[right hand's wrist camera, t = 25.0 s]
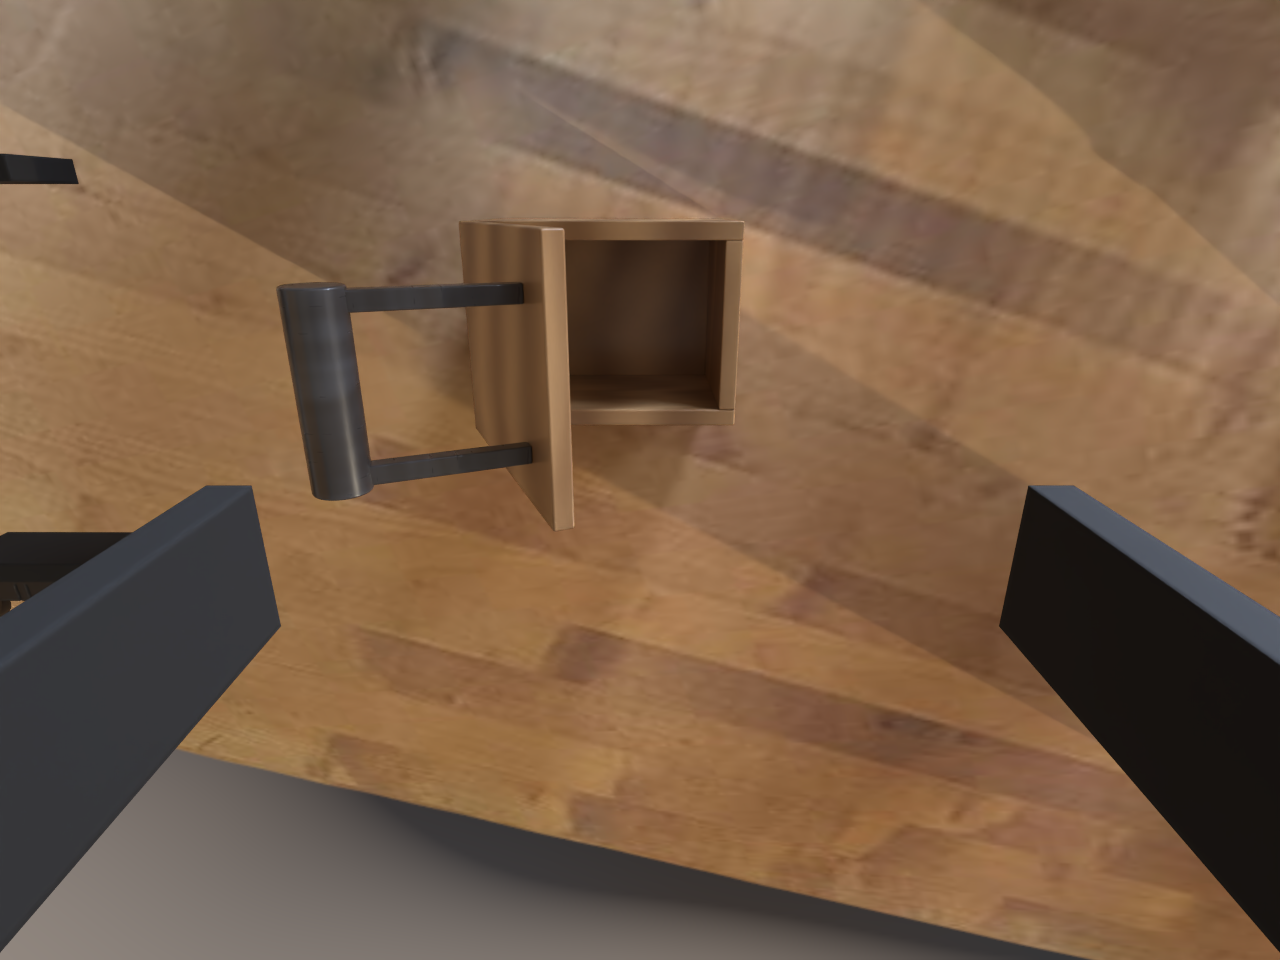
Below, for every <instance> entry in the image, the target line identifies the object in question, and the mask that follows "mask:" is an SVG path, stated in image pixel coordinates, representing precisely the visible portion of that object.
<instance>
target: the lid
mask: <svg viewBox="0 0 1280 960" xmlns="http://www.w3.org/2000/svg"><path fill="white" fill-rule="evenodd" d="M459 233H460V245H461V257H462V268H463V280H464V284H438V285H411V286H384V287H358V288H346V285H345V284H342V283H334V282H310V283H294V284H285V285H280V286H278V287H277V289H276V291H277V296H278V302H279V308H280V313H281V319H282V325H283V331H284V336H285V342H286V348H287V353H288V359H289V365H290V371H291V376H292V382H293V388H294V393H295V399H296V405H297V410H298V416H299V422H300V428H301V433H302V439H303V445H304V450H305V456H306V462H307V468H308V473H309V479H310V485H311V490H312V494H313V496H314V497H316V498H318V499H321V500H329V501H336V500H346V499H352V498H356V497H359V496H362V495H364V494H367V493H368V492H370V491H371V490H372V489H373V487H374V485H378V484H385V483H393V482H400V481H407V480H415V479H422V478H430V477H437V476H444V475H452V474H459V473H467V472H474V471H481V470H489V469H496V468H504V467H506V469H507V470H508V471H509V473H510V474H511V475H512V477H513V478H514V479H515V481H516V482H517V483H518V485H519V486H520V487H521V489H522V490H523V491H524V492H525V494H526V495H527V496H528V498H529V499H530V500H531V502H532V503H533V504H534V506H535V507H536V508H537V510H538V511H539V512H540V514H541V515H542V516H543V518H544V519H545V520H546V522H547V523H548V524H549V526H550V527H551V528H552V530H553V531H561V530H567V529H573V528H574V526H575V525H574V496H573V467H572V437H571V408H570V379H569V350H568V320H567V291H566V262H565V233H564V229H563V228H557V227H544V226H532V225H519V224H506V223H493V222H480V221H460V222H459ZM456 307H466V316H467V328H468V340H469V352H470V364H471V376H472V388H473V400H474V412H475V423H476V429H477V430H478V431H479V433H480V434H481V435H482V437H483V438H484V439H485V441H486V442H487V443H488V445H489V446H487V447H479V448H471V449H462V450H454V451H446V452H438V453H430V454H422V455H414V456H405V457H397V458H389V459H381V460H373V461H371V458H370V451H369V444H368V437H367V430H366V423H365V416H364V409H363V402H362V395H361V387H360V380H359V373H358V366H357V359H356V352H355V345H354V338H353V331H352V324H351V317H350V313H354V312H374V311H395V310H415V309H435V308H456Z"/></svg>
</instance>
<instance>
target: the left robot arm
mask: <svg viewBox="0 0 1280 960" xmlns="http://www.w3.org/2000/svg"><path fill="white" fill-rule="evenodd" d="M0 184H79V183H78V179H77V176H76V172H75V168H74V164H73V160H72V159H61V158H49V157H37V156H25V155H13V154H0ZM131 533H133V532H7V533H5V534H3V535H1V536H0V617H1V616H3V615H4V614H6V613H7V612H9V611H10V609H11V602H10V601H20V600H22V601H26V600H28V599H29V598H31V597H33V596H34V595H36V594H37V593H39V592H40V591H42V590H43V589H45V588H47V587H48V586H50V585H51V584H53V583H54V582H56V581H58V580H59V579H61V578H62V577H64V576H65V575H67V574H69V573H70V572H72V571H73V570H75V569H76V568H78V567H80V566H81V565H83V564H84V563H86V562H87V561H89V560H90V559H92V558H94V557H95V556H97V555H98V554H100V553H101V552H103V551H105V550H106V549H108V548H109V547H111V546H112V545H114V544H116V543H117V542H119V541H120V540H122V539H123V538H125V537H127V536H128V535H130V534H131Z"/></svg>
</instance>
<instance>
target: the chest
mask: <svg viewBox="0 0 1280 960" xmlns="http://www.w3.org/2000/svg"><path fill="white" fill-rule="evenodd" d="M475 221H480V222H493V223H506V224H519V225H532V226H544V227H557V228H563V229H564V233H565V262H566V291H567V320H568V350H569V379H570V408H571V425H734V418H735V410H734V409H735V399H736V380H737V360H738V340H739V320H740V301H741V281H742V261H743V241H742V240H743V239H744V221H737V220H728V219H541V218H504V219H489V220H475Z"/></svg>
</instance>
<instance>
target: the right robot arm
mask: <svg viewBox="0 0 1280 960" xmlns="http://www.w3.org/2000/svg"><path fill="white" fill-rule="evenodd" d="M280 627H281V624H280V620H279V615H278V610H277V605H276V600H275V596H274V591H273V586H272V581H271V577H270V572H269V567H268V562H267V557H266V553H265V548H264V543H263V538H262V533H261V529H260V524H259V519H258V514H257V509H256V505H255V500H254V495H253V490H252V486H205V487H203V488H202V489H200V490H199V491H197V492H195V493H194V494H192V495H191V496H189V497H188V498H186V499H184V500H183V501H181V502H180V503H178V504H177V505H175V506H174V507H172V508H170V509H169V510H167V511H166V512H164V513H163V514H161V515H159V516H158V517H156V518H155V519H153V520H152V521H150V522H148V523H147V524H145V525H144V526H142V527H141V528H139V529H137V530H136V531H134V532H133V533H131V534H130V535H128V536H127V537H125V538H123V539H122V540H120V541H119V542H117V543H116V544H114V545H112V546H111V547H109V548H108V549H106V550H105V551H103V552H101V553H100V554H98V555H97V556H95V557H94V558H92V559H90V560H89V561H87V562H86V563H84V564H83V565H81V566H80V567H78V568H76V569H75V570H73V571H72V572H70V573H69V574H67V575H65V576H64V577H62V578H61V579H59V580H58V581H56V582H54V583H53V584H51V585H50V586H48V587H47V588H45V589H43V590H42V591H40V592H39V593H37V594H36V595H34V596H33V597H31V598H29V599H28V600H26V601H25V602H23V603H22V604H20V605H18V606H17V607H15V608H14V609H12V610H11V611H9V612H7V613H6V614H4V615H3V616H1V617H0V952H1V951H2V950H3V949H4V947H5V946H6V945H7V944H8V943H9V942H10V940H11V939H12V938H13V937H14V936H15V935H16V933H17V932H18V931H19V930H20V929H21V928H22V927H23V925H24V924H25V923H26V922H27V921H28V920H29V918H30V917H31V916H32V915H33V914H34V913H35V911H36V910H37V909H38V908H39V907H40V906H41V904H42V903H43V902H44V901H45V900H46V899H47V897H48V896H49V895H50V894H51V893H52V892H53V890H54V889H55V888H56V887H57V886H58V885H59V884H60V882H61V881H62V880H63V879H64V878H65V876H66V875H67V874H68V873H69V872H70V871H71V870H72V868H73V867H74V866H75V865H76V864H77V862H78V861H79V860H80V859H81V858H82V857H83V856H84V854H85V853H86V852H87V851H88V850H89V849H90V847H91V846H92V845H93V844H94V843H95V842H96V840H97V839H98V838H99V837H100V836H101V835H102V834H103V832H104V831H105V830H106V829H107V828H108V827H109V825H110V824H111V823H112V822H113V821H114V820H115V818H116V817H117V816H118V815H119V814H120V813H121V811H122V810H123V809H124V808H125V807H126V806H127V804H128V803H129V802H130V801H131V800H132V799H133V797H134V796H135V795H136V794H137V793H138V792H139V791H140V789H141V788H142V787H143V786H144V785H145V784H146V782H147V781H148V780H149V779H150V778H151V777H152V775H153V774H154V773H155V772H156V771H157V770H158V768H159V767H160V766H161V765H162V764H163V763H164V761H165V760H166V759H167V758H168V757H169V756H170V754H171V753H172V752H173V751H174V750H175V749H176V748H177V746H178V745H179V744H180V743H181V742H182V741H183V739H184V738H185V737H186V736H187V735H188V734H189V732H190V731H191V730H192V729H193V728H194V727H195V725H196V724H197V723H198V722H199V721H200V720H201V718H202V717H203V716H204V715H205V714H206V713H207V711H208V710H209V709H210V708H211V707H212V706H213V705H214V703H215V702H216V701H217V700H218V699H219V698H220V696H221V695H222V694H223V693H224V692H225V691H226V689H227V688H228V687H229V686H230V685H231V684H232V682H233V681H234V680H235V679H236V678H237V677H238V675H239V674H240V673H241V672H242V671H243V670H244V668H245V667H246V666H247V665H248V664H249V663H250V661H251V660H252V659H253V658H254V657H255V656H256V655H257V653H258V652H259V651H260V650H261V649H262V648H263V646H264V645H265V644H266V643H267V642H268V641H269V639H270V638H271V637H272V636H273V635H274V634H275V632H276V631H277V630H278V629H279V628H280ZM999 627H1000V628H1001V629H1002V630H1003V631H1004V632H1005V634H1006V635H1007V636H1008V637H1009V638H1010V639H1011V641H1012V642H1013V643H1014V644H1015V645H1016V646H1017V648H1018V649H1019V650H1020V651H1021V652H1022V653H1023V655H1024V656H1025V657H1026V658H1027V659H1028V660H1029V661H1030V663H1031V664H1032V665H1033V666H1034V667H1035V668H1036V670H1037V671H1038V672H1039V673H1040V674H1041V675H1042V677H1043V678H1044V679H1045V680H1046V681H1047V682H1048V684H1049V685H1050V686H1051V687H1052V688H1053V689H1054V691H1055V692H1056V693H1057V694H1058V695H1059V696H1060V698H1061V699H1062V700H1063V701H1064V702H1065V703H1066V705H1067V706H1068V707H1069V708H1070V709H1071V710H1072V711H1073V713H1074V714H1075V715H1076V716H1077V717H1078V718H1079V720H1080V721H1081V722H1082V723H1083V724H1084V725H1085V727H1086V728H1087V729H1088V730H1089V731H1090V732H1091V734H1092V735H1093V736H1094V737H1095V738H1096V739H1097V741H1098V742H1099V743H1100V744H1101V745H1102V746H1103V748H1104V749H1105V750H1106V751H1107V752H1108V753H1109V754H1110V756H1111V757H1112V758H1113V759H1114V760H1115V761H1116V763H1117V764H1118V765H1119V766H1120V767H1121V768H1122V770H1123V771H1124V772H1125V773H1126V774H1127V775H1128V777H1129V778H1130V779H1131V780H1132V781H1133V782H1134V784H1135V785H1136V786H1137V787H1138V788H1139V789H1140V791H1141V792H1142V793H1143V794H1144V795H1145V796H1146V797H1147V799H1148V800H1149V801H1150V802H1151V803H1152V804H1153V806H1154V807H1155V808H1156V809H1157V810H1158V811H1159V813H1160V814H1161V815H1162V816H1163V817H1164V818H1165V820H1166V821H1167V822H1168V823H1169V824H1170V825H1171V827H1172V828H1173V829H1174V830H1175V831H1176V832H1177V834H1178V835H1179V836H1180V837H1181V838H1182V839H1183V840H1184V842H1185V843H1186V844H1187V845H1188V846H1189V847H1190V849H1191V850H1192V851H1193V852H1194V853H1195V854H1196V856H1197V857H1198V858H1199V859H1200V860H1201V861H1202V863H1203V864H1204V865H1205V866H1206V867H1207V868H1208V870H1209V871H1210V872H1211V873H1212V874H1213V875H1214V877H1215V878H1216V879H1217V880H1218V881H1219V882H1220V884H1221V885H1222V886H1223V887H1224V888H1225V889H1226V890H1227V892H1228V893H1229V894H1230V895H1231V896H1232V897H1233V899H1234V900H1235V901H1236V902H1237V903H1238V904H1239V906H1240V907H1241V908H1242V909H1243V910H1244V911H1245V913H1246V914H1247V915H1248V916H1249V917H1250V918H1251V920H1252V921H1253V922H1254V923H1255V924H1256V925H1257V927H1258V928H1259V929H1260V930H1261V931H1262V932H1263V933H1264V935H1265V936H1266V937H1267V938H1268V939H1269V940H1270V942H1271V943H1272V944H1273V945H1274V946H1275V947H1276V949H1277V950H1278V951H1279V952H1280V617H1279V616H1277V615H1276V614H1274V613H1273V612H1271V611H1269V610H1268V609H1266V608H1265V607H1263V606H1262V605H1260V604H1258V603H1257V602H1255V601H1254V600H1252V599H1251V598H1249V597H1247V596H1246V595H1244V594H1243V593H1241V592H1240V591H1238V590H1237V589H1235V588H1233V587H1232V586H1230V585H1229V584H1227V583H1226V582H1224V581H1222V580H1221V579H1219V578H1218V577H1216V576H1215V575H1213V574H1211V573H1210V572H1208V571H1207V570H1205V569H1204V568H1202V567H1200V566H1199V565H1197V564H1196V563H1194V562H1193V561H1191V560H1190V559H1188V558H1186V557H1185V556H1183V555H1182V554H1180V553H1179V552H1177V551H1175V550H1174V549H1172V548H1171V547H1169V546H1168V545H1166V544H1164V543H1163V542H1161V541H1160V540H1158V539H1157V538H1155V537H1153V536H1152V535H1150V534H1149V533H1147V532H1146V531H1144V530H1143V529H1141V528H1139V527H1138V526H1136V525H1135V524H1133V523H1132V522H1130V521H1128V520H1127V519H1125V518H1124V517H1122V516H1121V515H1119V514H1117V513H1116V512H1114V511H1113V510H1111V509H1110V508H1108V507H1106V506H1105V505H1103V504H1102V503H1100V502H1099V501H1097V500H1096V499H1094V498H1092V497H1091V496H1089V495H1088V494H1086V493H1085V492H1083V491H1081V490H1080V489H1078V488H1077V487H1075V486H1028V490H1027V495H1026V500H1025V505H1024V509H1023V514H1022V519H1021V524H1020V529H1019V533H1018V538H1017V543H1016V548H1015V553H1014V557H1013V562H1012V567H1011V572H1010V577H1009V581H1008V586H1007V591H1006V596H1005V600H1004V605H1003V610H1002V615H1001V620H1000V624H999Z"/></svg>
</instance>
